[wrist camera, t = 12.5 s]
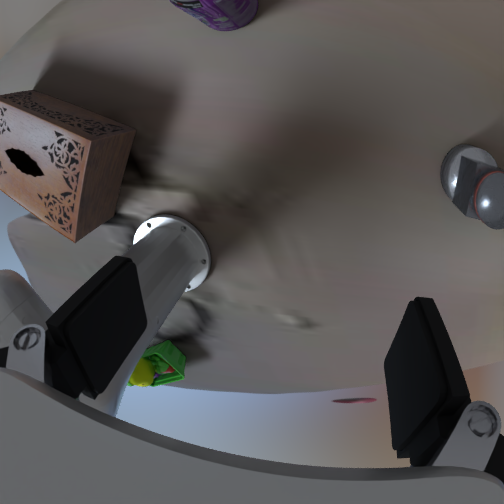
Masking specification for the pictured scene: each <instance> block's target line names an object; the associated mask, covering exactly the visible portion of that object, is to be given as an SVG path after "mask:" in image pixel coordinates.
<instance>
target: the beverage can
mask: <svg viewBox="0 0 504 504" xmlns="http://www.w3.org/2000/svg"><path fill="white" fill-rule="evenodd" d="M170 2H171V3H172V4H174V5H175V6H176V7H178V8H180V9H182V10H183V11H185V12H187V13H188V14H190V15H192V16H193V17H195V18H196V19H198V20H200V21H201V22H203V23H204V24H206V25H207V26H209V27H211V28H213V29H215V30H219V31H231V30H236V29H238V28H241V27H243V26H245V25H246V24H247V23H249V22H250V21H251V20H252V19H253V17H254V16H255V14H256V12H257V9H258V0H170Z"/></svg>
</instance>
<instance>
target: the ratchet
mask: <svg viewBox="0 0 504 504" xmlns="http://www.w3.org/2000/svg"><path fill="white" fill-rule="evenodd" d="M461 156H465V157H468V158H471V159H474V160H477V161H481V162H484V163H487V164H489V165H492V166H495V167H498V166H497V163H496V161H495V160H494V158H493V157H492V156H491V155H490V154H489V153H488V152H487V151H485V150H483V149H480V148H478V147H475V146H472V145H468V144H461V145H458V146H455V147H454V148H452V149H451V150H450V151H449V152H448V153H447V155H446V156H445V158H444V160H443V162H442V166H441V172H440V177H441V184H442V187H443V189H444V191H445V193H446V194H447V196H448V197H449V198H450V199H451V200H453V196H454V191H455V187H456V182H457V177H458V171H459V166H460V160H461Z"/></svg>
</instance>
